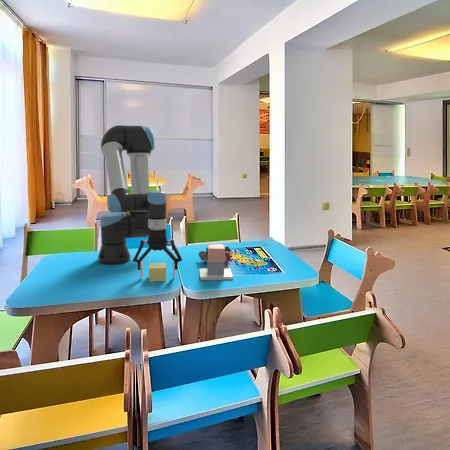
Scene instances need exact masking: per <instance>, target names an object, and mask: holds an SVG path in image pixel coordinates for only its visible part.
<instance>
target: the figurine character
mask: <svg viewBox="0 0 450 450" xmlns="http://www.w3.org/2000/svg"><path fill="white" fill-rule="evenodd" d="M224 247H225V262H224V264H225V263H228V262H230V261H231V254H230V252H231V251H232V250H231V249H230V247H229V246H224ZM198 257H199V259H200V260H201V262H202V261H203V264H204V265H207V257H208V247H207V248H205V250H201V251H199V252H198Z"/></svg>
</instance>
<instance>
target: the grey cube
mask: <svg viewBox="0 0 450 450" xmlns="http://www.w3.org/2000/svg"><path fill="white" fill-rule="evenodd" d="M206 261H207V262H206V263H207V264H206V266H207V267H206V268H207V271H208V275H224V268H225V263H224V262H208V257H207V260H206Z"/></svg>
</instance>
